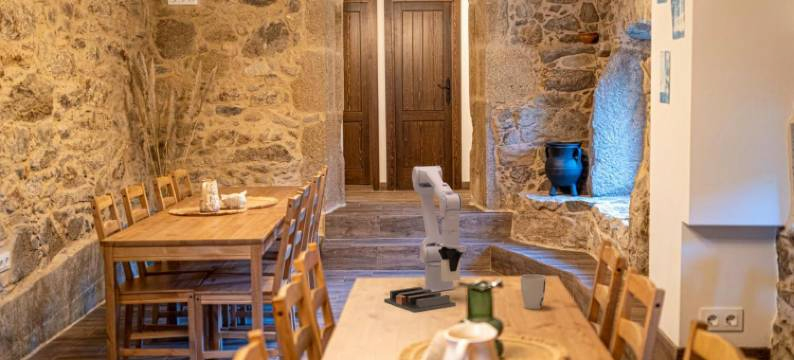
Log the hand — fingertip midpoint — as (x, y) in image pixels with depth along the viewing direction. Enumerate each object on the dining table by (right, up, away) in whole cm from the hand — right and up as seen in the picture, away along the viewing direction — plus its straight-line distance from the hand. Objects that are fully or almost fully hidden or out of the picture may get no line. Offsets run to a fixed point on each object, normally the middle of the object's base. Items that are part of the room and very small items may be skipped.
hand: (450, 270), depth 302 cm
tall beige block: (0, -3, 0) cm, 3 cm away
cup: (+26, -11, -12) cm, 30 cm away
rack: (-11, -10, -6) cm, 16 cm away
